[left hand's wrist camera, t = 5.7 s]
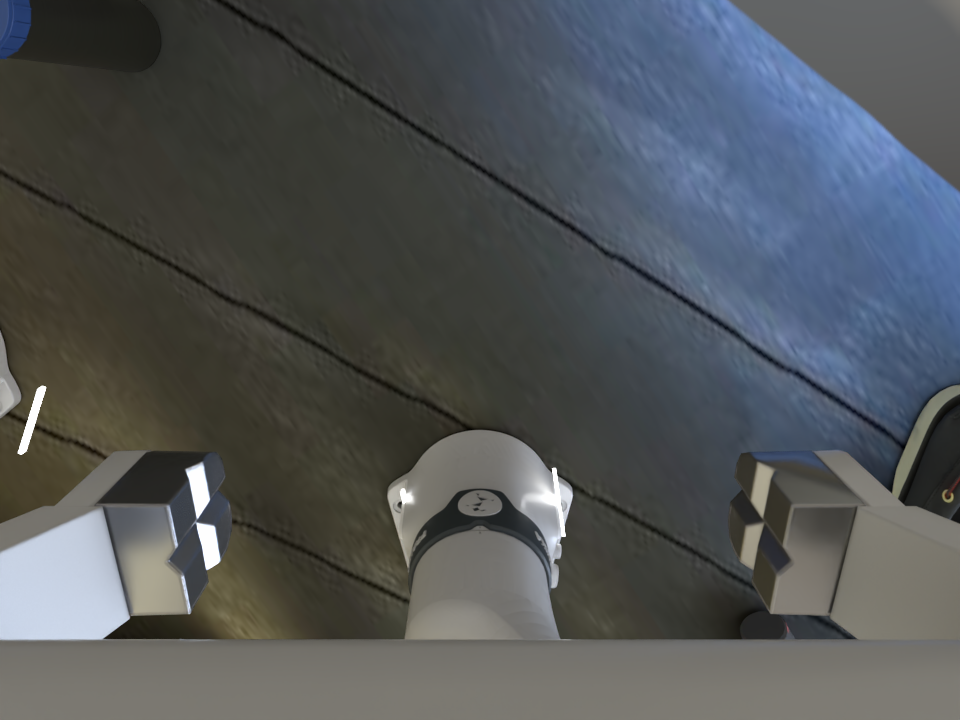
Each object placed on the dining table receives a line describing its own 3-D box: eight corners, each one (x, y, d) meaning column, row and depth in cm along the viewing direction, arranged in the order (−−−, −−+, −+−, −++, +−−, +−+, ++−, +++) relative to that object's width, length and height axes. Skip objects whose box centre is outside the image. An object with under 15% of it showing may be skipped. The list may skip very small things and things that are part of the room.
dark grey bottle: (76, 16, 50) (-119, -30, 34) (133, -18, 50) (-39, -83, 33) (119, 84, 52) (-46, 71, 36) (175, 52, 51) (31, 23, 35)
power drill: (654, 685, 68) (709, 802, 75) (829, 628, 65) (870, 755, 72) (642, 646, 73) (695, 759, 80) (804, 592, 70) (844, 713, 77)
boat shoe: (814, 636, 73) (869, 718, 64) (929, 375, 61) (1018, 428, 51) (919, 644, 74) (988, 725, 65) (1052, 390, 62) (1161, 443, 53)
